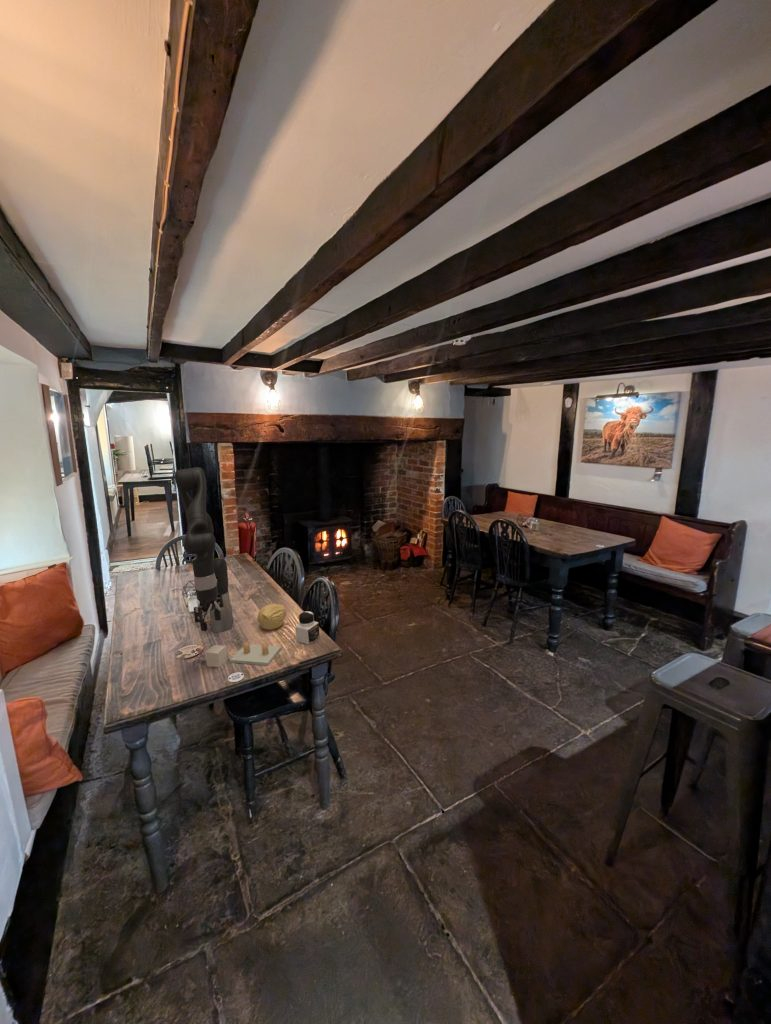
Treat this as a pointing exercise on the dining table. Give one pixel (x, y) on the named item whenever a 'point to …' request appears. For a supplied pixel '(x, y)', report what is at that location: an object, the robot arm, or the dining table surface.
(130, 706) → the dining table surface
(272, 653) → the board
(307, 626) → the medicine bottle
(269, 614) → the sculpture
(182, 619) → the dining table surface
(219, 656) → the beige block
